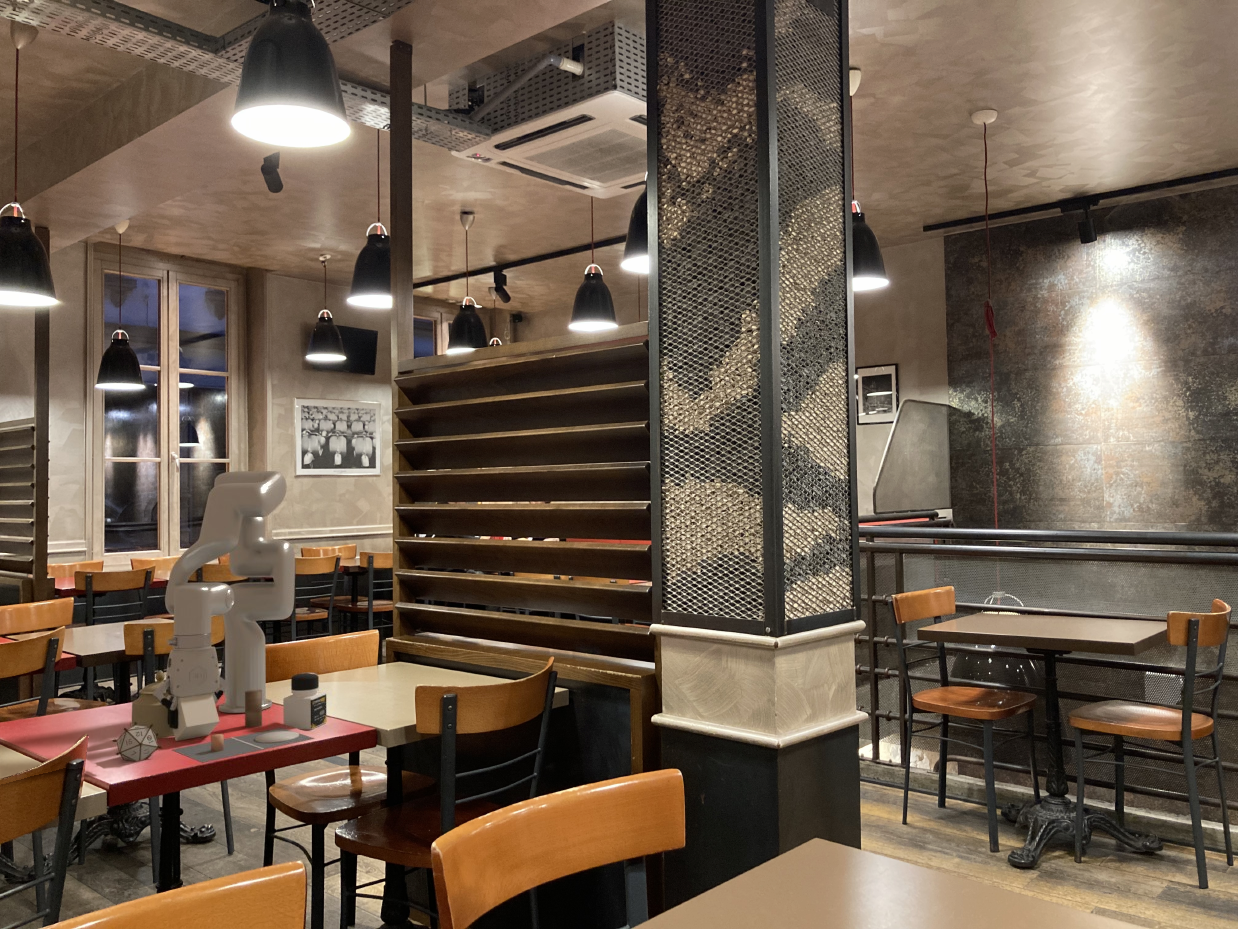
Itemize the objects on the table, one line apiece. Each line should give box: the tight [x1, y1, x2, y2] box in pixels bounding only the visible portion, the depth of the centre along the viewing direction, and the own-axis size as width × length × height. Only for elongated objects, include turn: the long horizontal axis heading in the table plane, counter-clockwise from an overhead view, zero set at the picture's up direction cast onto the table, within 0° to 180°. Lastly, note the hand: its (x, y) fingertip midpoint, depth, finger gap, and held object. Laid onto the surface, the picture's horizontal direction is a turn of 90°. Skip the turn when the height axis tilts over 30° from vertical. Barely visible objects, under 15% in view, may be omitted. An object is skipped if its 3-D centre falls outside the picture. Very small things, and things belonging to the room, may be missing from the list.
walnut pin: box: [244, 690, 263, 729], centre depth 216 cm, size 4×4×9 cm
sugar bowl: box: [131, 670, 175, 740], centre depth 212 cm, size 15×11×15 cm
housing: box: [167, 693, 220, 742], centre depth 206 cm, size 7×10×7 cm
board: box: [172, 727, 316, 763], centre depth 200 cm, size 15×24×4 cm, turn 137°
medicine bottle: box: [282, 672, 327, 731], centre depth 220 cm, size 7×7×12 cm
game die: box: [111, 721, 164, 762], centre depth 190 cm, size 9×8×10 cm
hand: (191, 724), depth 206 cm, fingers closed on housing, 6 cm apart
